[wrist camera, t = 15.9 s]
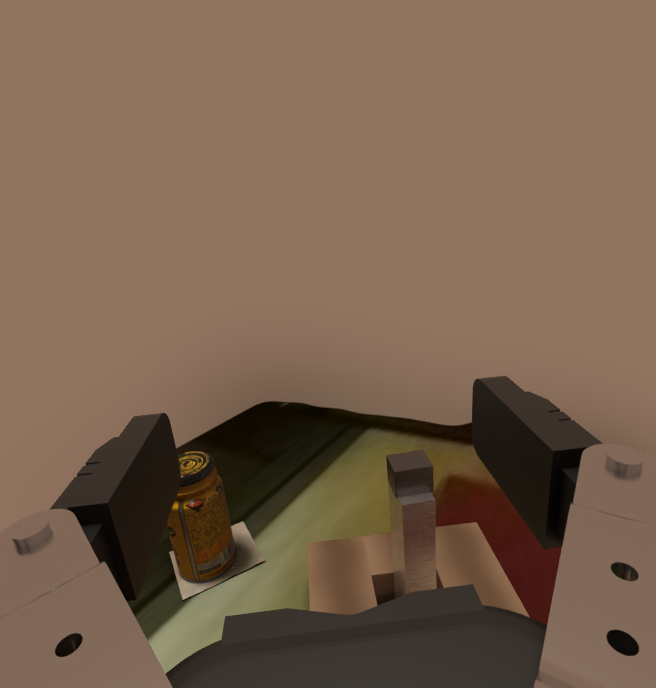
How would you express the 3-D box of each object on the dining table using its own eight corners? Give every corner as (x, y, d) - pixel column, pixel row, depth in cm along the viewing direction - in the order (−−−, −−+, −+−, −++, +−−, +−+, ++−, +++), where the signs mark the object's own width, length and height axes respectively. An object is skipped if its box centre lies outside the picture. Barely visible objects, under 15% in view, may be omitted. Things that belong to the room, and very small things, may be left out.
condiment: (169, 553, 48) (145, 459, 45) (243, 522, 52) (226, 432, 48) (183, 602, 42) (156, 497, 38) (265, 562, 46) (248, 463, 42)
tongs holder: (322, 797, 27) (314, 744, 26) (313, 585, 43) (307, 543, 41) (573, 760, 28) (579, 706, 26) (475, 564, 43) (476, 522, 42)
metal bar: (409, 685, 33) (399, 483, 28) (393, 632, 37) (382, 446, 32) (442, 678, 33) (439, 476, 28) (423, 626, 38) (417, 441, 32)
